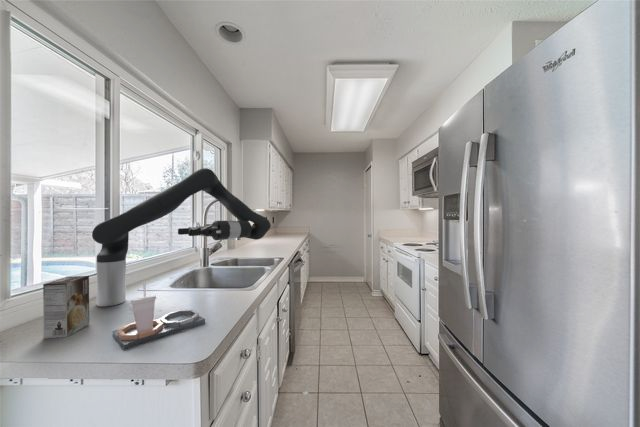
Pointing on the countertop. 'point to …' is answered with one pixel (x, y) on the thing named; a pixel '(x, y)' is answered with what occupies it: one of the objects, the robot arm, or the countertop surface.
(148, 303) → the smoothie
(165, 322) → the grey collar
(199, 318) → the dual ring board
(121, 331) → the terracotta collar
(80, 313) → the coffee box
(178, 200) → the robot arm
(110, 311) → the countertop surface
